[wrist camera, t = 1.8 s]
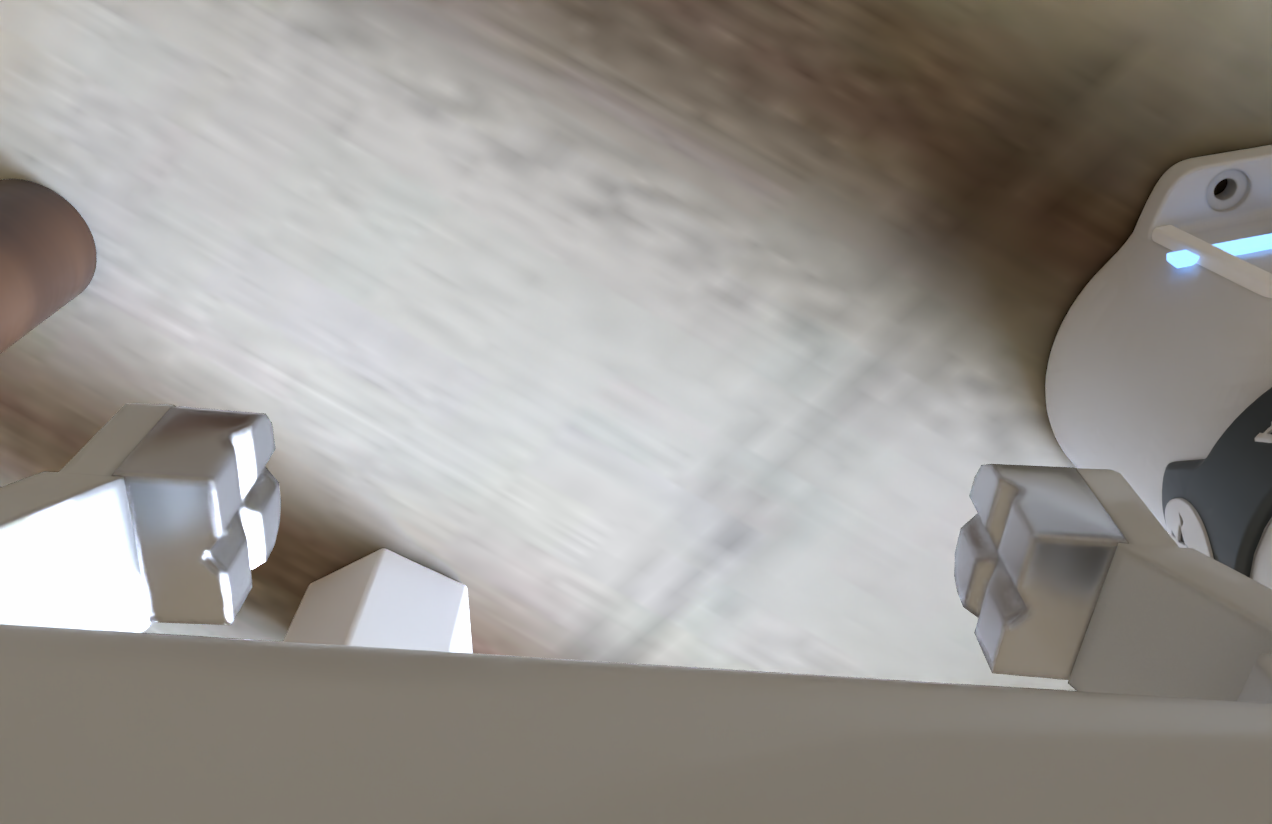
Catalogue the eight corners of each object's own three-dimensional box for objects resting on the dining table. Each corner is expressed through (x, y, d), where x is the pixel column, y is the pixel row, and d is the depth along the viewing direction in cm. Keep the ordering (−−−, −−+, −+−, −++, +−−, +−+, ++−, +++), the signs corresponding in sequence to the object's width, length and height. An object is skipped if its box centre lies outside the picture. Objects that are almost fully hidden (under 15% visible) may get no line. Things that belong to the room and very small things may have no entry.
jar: (299, 544, 50) (206, 727, 39) (467, 546, 50) (421, 729, 39) (322, 685, 54) (244, 885, 43) (478, 687, 54) (438, 888, 43)
